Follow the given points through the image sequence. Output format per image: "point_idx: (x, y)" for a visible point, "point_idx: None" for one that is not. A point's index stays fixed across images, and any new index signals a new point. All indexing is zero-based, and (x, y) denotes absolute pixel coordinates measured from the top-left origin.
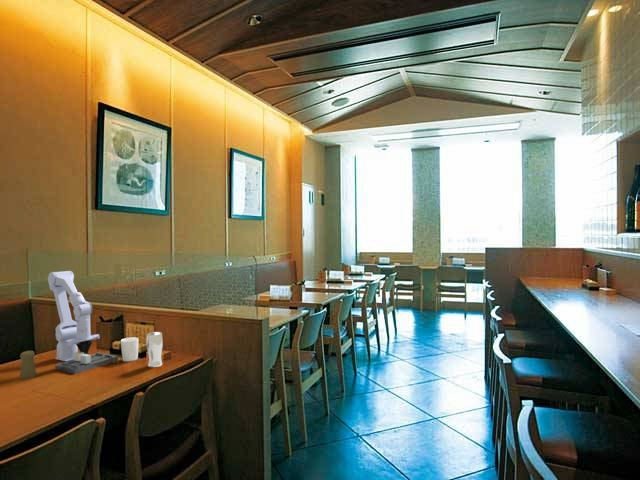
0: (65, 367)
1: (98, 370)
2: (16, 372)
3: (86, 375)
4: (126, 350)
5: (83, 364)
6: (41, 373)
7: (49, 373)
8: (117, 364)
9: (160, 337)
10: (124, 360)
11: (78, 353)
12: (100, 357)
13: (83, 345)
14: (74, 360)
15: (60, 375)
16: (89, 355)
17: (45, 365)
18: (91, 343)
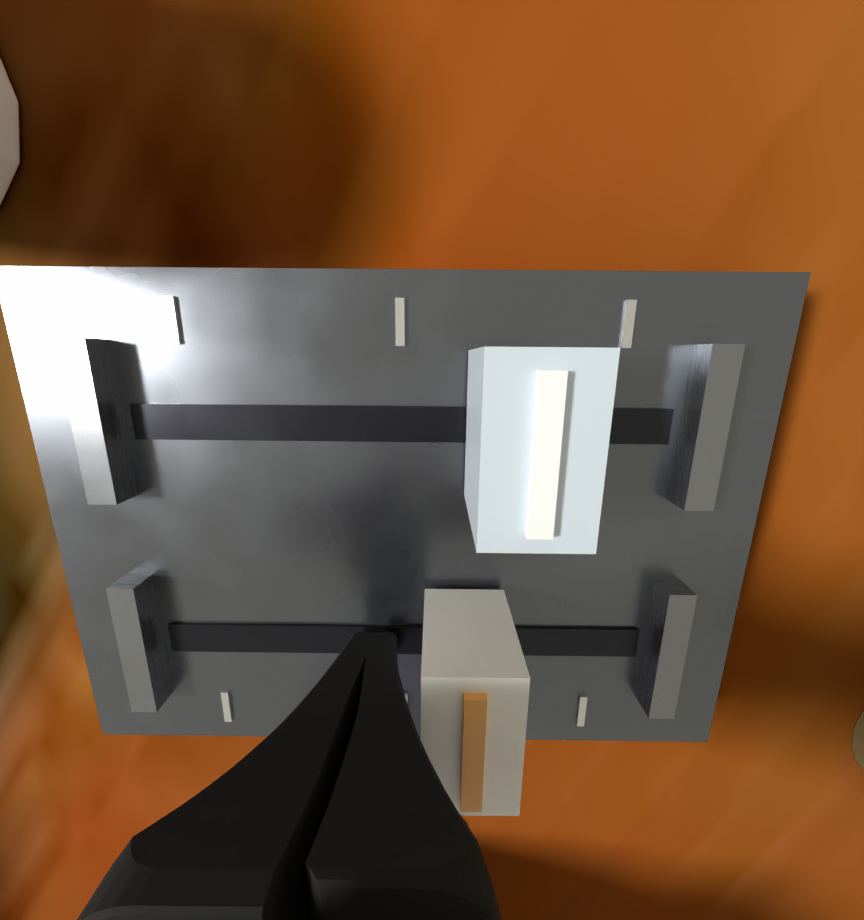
0: (755, 522)
1: (509, 78)
2: (850, 910)
3: (752, 20)
4: None
5: None
6: (824, 694)
7: (805, 618)
8: (172, 60)
9: None
10: (2, 83)
11: (512, 709)
12: (213, 489)
13: (444, 846)
14: None
15: (837, 424)
16: (514, 348)
17: (613, 878)
18: (149, 839)
